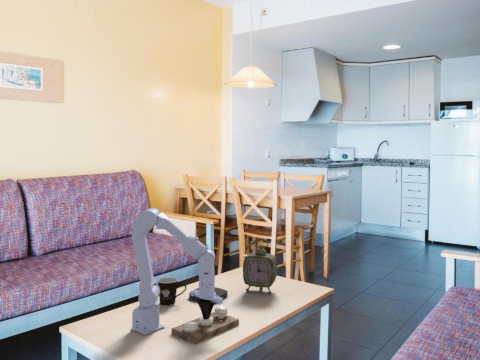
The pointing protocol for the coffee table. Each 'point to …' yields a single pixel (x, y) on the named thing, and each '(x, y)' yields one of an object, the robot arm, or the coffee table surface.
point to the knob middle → (206, 321)
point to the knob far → (221, 311)
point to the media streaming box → (219, 291)
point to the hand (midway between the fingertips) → (206, 318)
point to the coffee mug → (168, 290)
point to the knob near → (190, 327)
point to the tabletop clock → (259, 268)
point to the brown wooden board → (206, 328)
